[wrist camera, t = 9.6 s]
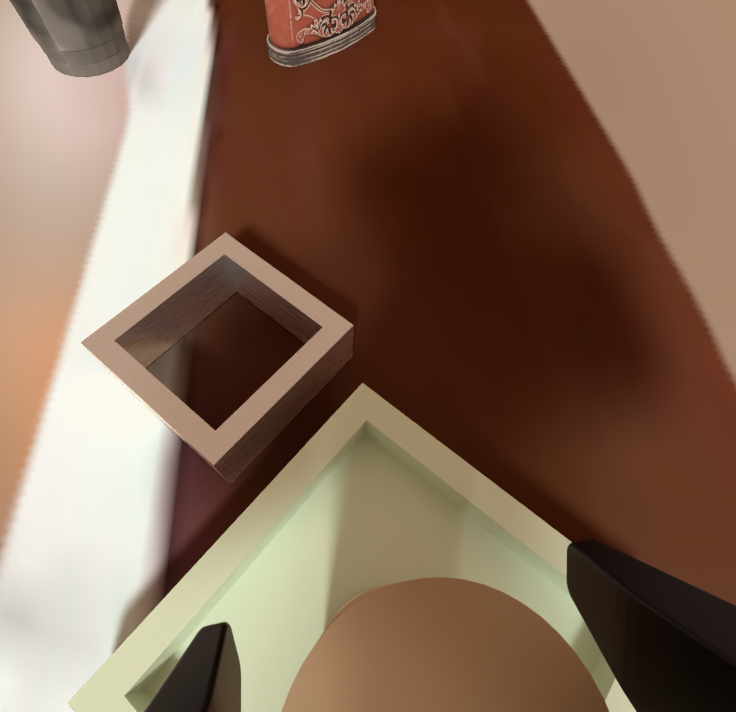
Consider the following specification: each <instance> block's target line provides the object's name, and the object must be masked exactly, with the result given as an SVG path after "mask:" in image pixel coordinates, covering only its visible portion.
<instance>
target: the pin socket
mask: <svg viewBox="0 0 736 712" xmlns="http://www.w3.org/2000/svg"><path fill="white" fill-rule="evenodd" d="M236 292H238V293H239V294H241V295H242V296H243V297H245V298H246V299H247V300H249V301H250V302H251V303H253V304H254V305H255V306H256V307H258V308H259V309H260V310H262V311H263V312H264V313H266V314H267V315H268V316H270V317H271V318H272V319H273V320H275V321H276V322H277V323H279V324H280V325H281V326H283V327H284V328H285V329H287V330H288V331H289V332H290V333H292V334H293V335H294V336H296V337H297V338H298V339H300V340H301V341H302V342H304V343H305V345H304V346H303V347H302V348H301V349H300V350H299V351H298V352H297V353H295V354H294V355H293V356H292V357H291V358H290V359H289V360H288V361H287V362H286V363H285V364H284V365H283V366H282V367H281V368H280V369H279V370H278V371H277V372H276V373H275V374H274V375H273V376H272V377H271V378H270V379H269V380H268V381H266V382H265V383H264V384H263V385H262V386H261V387H260V388H259V389H258V390H257V391H256V392H255V393H254V394H253V395H252V396H251V397H250V398H249V399H248V400H247V401H246V402H245V403H244V404H243V405H242V406H241V407H240V408H239V409H237V410H236V411H235V412H234V413H233V414H232V415H231V416H230V417H229V418H228V419H227V420H226V421H225V422H224V423H223V424H222V425H221V426H220V427H219V428H218V429H217V430H216V431H215V430H214V429H213V428H212V427H210V426H209V425H208V424H207V423H206V422H205V421H204V420H203V419H201V418H200V417H199V416H198V415H197V414H196V413H195V412H194V411H193V410H191V409H190V408H189V407H188V406H187V405H186V404H185V403H184V402H182V401H181V400H180V399H179V398H178V397H177V396H176V395H175V394H174V393H172V392H171V391H170V390H169V389H168V388H167V387H166V386H165V385H163V384H162V383H161V382H160V381H159V380H158V379H157V378H156V377H155V376H153V375H152V374H151V373H150V372H149V371H148V370H147V369H146V367H147V366H149V365H150V364H151V363H152V362H153V361H155V360H156V359H157V358H158V357H159V356H161V355H162V354H163V353H164V352H165V351H167V350H168V349H169V348H170V347H171V346H172V345H174V344H175V343H176V342H177V341H178V340H180V339H181V338H182V337H183V336H184V335H186V334H187V333H188V332H189V331H190V330H192V329H193V328H194V327H195V326H196V325H198V324H199V323H200V322H201V321H202V320H204V319H205V318H206V317H207V316H208V315H210V314H211V313H212V312H213V311H214V310H216V309H217V308H218V307H219V306H220V305H222V304H223V303H224V302H225V301H226V300H228V299H229V298H230V297H231V296H232V295H234V294H235V293H236ZM353 328H354V325H353V324H351V323H350V322H348V321H347V320H346V319H344V318H343V317H342V316H340V315H339V314H337V313H336V312H335V311H333V310H332V309H330V308H329V307H328V306H326V305H325V304H324V303H322V302H321V301H319V300H318V299H317V298H315V297H314V296H313V295H311V294H310V293H308V292H307V291H306V290H304V289H303V288H301V287H300V286H299V285H297V284H296V283H295V282H293V281H292V280H290V279H289V278H288V277H286V276H285V275H284V274H282V273H281V272H279V271H278V270H277V269H275V268H274V267H272V266H271V265H270V264H268V263H267V262H266V261H264V260H263V259H261V258H260V257H259V256H257V255H256V254H255V253H253V252H252V251H250V250H249V249H248V248H246V247H245V246H243V245H242V244H241V243H239V242H238V241H237V240H235V239H234V238H232V237H231V236H230V235H228V234H227V233H224V234H223V235H222V236H220V237H219V238H218V239H216V240H215V241H214V242H212V243H211V244H210V245H209V246H207V247H206V248H205V249H203V250H202V251H201V252H199V253H198V254H197V255H195V256H194V257H193V258H191V259H190V260H189V261H187V262H186V263H185V264H184V265H182V266H181V267H180V268H178V269H177V270H176V271H174V272H173V273H172V274H170V275H169V276H168V277H166V278H165V279H164V280H162V281H161V282H160V283H159V284H157V285H156V286H155V287H153V288H152V289H151V290H149V291H148V292H147V293H145V294H144V295H143V296H141V297H140V298H139V299H137V300H136V301H135V302H134V303H132V304H131V305H130V306H128V307H127V308H126V309H124V310H123V311H122V312H120V313H119V314H118V315H116V316H115V317H114V318H112V319H111V320H110V321H109V322H107V323H106V324H105V325H103V326H102V327H101V328H99V329H98V330H97V331H95V332H94V333H93V334H91V335H90V336H89V337H87V338H86V339H85V340H84V341H82V342H81V343H82V344H83V345H84V346H85V347H86V348H87V350H88V351H89V352H90V353H91V354H92V355H93V356H94V357H95V358H96V359H97V360H98V361H99V362H100V363H101V364H102V365H103V366H104V367H105V368H106V369H107V370H108V371H109V372H110V373H111V374H112V375H113V376H114V377H115V378H116V379H117V380H118V381H119V382H120V383H122V384H123V385H124V386H125V387H126V388H127V389H128V390H129V391H130V392H131V393H132V394H133V395H135V396H136V397H137V398H138V399H139V400H140V401H141V402H142V403H143V404H144V405H145V406H146V407H147V408H149V409H150V410H151V411H152V412H153V413H154V414H155V415H156V416H157V417H158V418H159V419H160V420H161V421H163V422H164V423H165V424H166V425H167V426H168V427H169V428H170V429H171V430H172V431H173V432H174V433H176V434H177V435H178V436H179V437H180V438H181V439H182V440H183V441H184V442H185V443H186V444H187V445H188V446H190V447H191V448H192V449H193V450H194V451H195V452H196V453H197V454H198V455H199V456H200V457H201V458H202V459H204V460H205V461H206V462H207V463H208V464H209V465H210V466H211V467H212V468H213V469H214V470H215V471H217V472H218V473H219V474H220V475H221V476H222V477H223V478H224V479H225V480H226V481H227V482H228V483H229V484H231V483H232V482H233V481H234V480H235V479H236V478H237V477H238V476H239V475H240V474H241V473H242V472H243V471H244V470H245V469H246V468H247V467H248V466H249V465H250V464H251V463H252V461H253V460H254V459H255V458H256V457H257V456H258V455H259V454H260V453H261V452H262V451H263V450H264V449H265V448H266V447H267V446H268V445H269V444H270V443H271V442H272V441H273V440H274V439H275V438H276V437H277V435H278V434H279V433H280V432H281V431H282V430H283V429H284V428H285V427H286V426H287V425H288V424H289V423H290V422H291V421H292V420H293V419H294V418H295V417H296V416H297V415H298V414H299V413H300V412H301V411H302V409H303V408H304V407H305V406H306V405H307V404H308V403H309V402H310V401H311V400H312V399H313V398H314V397H315V396H316V395H317V394H318V393H319V392H320V391H321V390H322V389H323V388H324V387H325V386H326V385H327V383H328V382H329V381H330V380H331V379H332V378H333V377H334V376H335V375H336V374H337V373H338V372H339V371H340V370H341V369H342V368H343V367H344V366H345V365H346V364H347V363H348V362H349V361H350V360H351V359H352V357H353Z"/></svg>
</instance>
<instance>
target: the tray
mask: <svg viewBox="0 0 736 712" xmlns="http://www.w3.org/2000/svg"><path fill="white" fill-rule="evenodd" d="M570 543H572V542H571V541H570V540H568V539H567V538H566V537H564V536H563V535H562V534H560V533H559V532H558V531H556V530H555V529H554V528H552V527H551V526H550V525H549V524H547V523H546V522H545V521H543V520H542V519H541V518H539V517H538V516H537V515H535V514H534V513H533V512H531V511H530V510H529V509H528V508H526V507H525V506H524V505H522V504H521V503H520V502H518V501H517V500H516V499H514V498H513V497H512V496H510V495H509V494H508V493H507V492H505V491H504V490H503V489H501V488H500V487H499V486H497V485H496V484H495V483H493V482H492V481H491V480H489V479H488V478H487V477H486V476H484V475H483V474H482V473H480V472H479V471H478V470H476V469H475V468H474V467H472V466H471V465H470V464H468V463H467V462H466V461H465V460H463V459H462V458H461V457H459V456H458V455H457V454H455V453H454V452H453V451H451V450H450V449H449V448H447V447H446V446H445V445H443V444H442V443H441V442H440V441H438V440H437V439H436V438H434V437H433V436H432V435H430V434H429V433H428V432H426V431H425V430H424V429H422V428H421V427H420V426H419V425H417V424H416V423H415V422H413V421H412V420H411V419H409V418H408V417H407V416H405V415H404V414H403V413H401V412H400V411H399V410H398V409H396V408H395V407H394V406H392V405H391V404H390V403H388V402H387V401H386V400H384V399H383V398H382V397H380V396H379V395H378V394H377V393H375V392H374V391H373V390H371V389H370V388H369V387H367V386H366V385H365V384H363V383H362V384H361V385H360V386H359V387H358V388H357V389H356V390H355V391H354V392H353V394H352V395H351V396H350V397H349V398H348V399H347V400H346V401H345V402H344V403H343V404H342V405H341V407H340V408H339V409H338V410H337V411H336V412H335V413H334V414H333V415H332V416H331V417H330V419H329V420H328V421H327V422H326V423H325V424H324V425H323V426H322V427H321V428H320V429H319V430H318V432H317V433H316V434H315V435H314V436H313V437H312V438H311V439H310V440H309V441H308V442H307V443H306V445H305V446H304V447H303V448H302V449H301V450H300V451H299V452H298V453H297V454H296V455H295V457H294V458H293V459H292V460H291V461H290V462H289V463H288V464H287V465H286V466H285V467H284V468H283V470H282V471H281V472H280V473H279V474H278V475H277V476H276V477H275V478H274V479H273V480H272V481H271V483H270V484H269V485H268V486H267V487H266V488H265V489H264V490H263V491H262V492H261V493H260V495H259V496H258V497H257V498H256V499H255V500H254V501H253V502H252V503H251V504H250V505H249V506H248V508H247V509H246V510H245V511H244V512H243V513H242V514H241V515H240V516H239V517H238V518H237V519H236V521H235V522H234V523H233V524H232V525H231V526H230V527H229V528H228V529H227V530H226V531H225V533H224V534H223V535H222V536H221V537H220V538H219V539H218V540H217V541H216V542H215V543H214V544H213V546H212V547H211V548H210V549H209V550H208V551H207V552H206V553H205V554H204V555H203V556H202V557H201V559H200V560H199V561H198V562H197V563H196V564H195V565H194V566H193V567H192V568H191V569H190V571H189V572H188V573H187V574H186V575H185V576H184V577H183V578H182V579H181V580H180V581H179V582H178V584H177V585H176V586H175V587H174V588H173V589H172V590H171V591H170V592H169V593H168V594H167V595H166V597H165V598H164V599H163V600H162V601H161V602H160V603H159V604H158V605H157V606H156V607H155V609H154V610H153V611H152V612H151V613H150V614H149V615H148V616H147V617H146V618H145V619H144V620H143V622H142V623H141V624H140V625H139V626H138V627H137V628H136V629H135V630H134V631H133V632H132V633H131V635H130V636H129V637H128V638H127V639H126V640H125V641H124V642H123V643H122V644H121V645H120V647H119V648H118V649H117V650H116V651H115V652H114V653H113V654H112V655H111V656H110V657H109V658H108V660H107V661H106V662H105V663H104V664H103V665H102V666H101V667H100V668H99V669H98V670H97V671H96V673H95V674H94V675H93V676H92V677H91V678H90V679H89V680H88V681H87V682H86V683H85V684H84V686H83V687H82V688H81V689H80V690H79V691H78V692H77V693H76V694H75V695H74V696H73V698H72V699H71V700H70V701H69V702H68V704H69V706H70V707H71V708H72V710H73V711H74V712H144V710H145V709H146V707H147V706H148V704H149V703H150V701H151V700H152V698H153V697H154V696H155V694H156V693H157V691H158V690H159V688H160V687H161V685H162V684H163V682H164V681H165V679H166V678H167V676H168V675H169V674H170V672H171V671H172V669H173V668H174V666H175V665H176V663H177V662H178V660H179V659H180V657H181V656H182V654H183V653H184V652H185V650H186V649H187V647H188V646H189V644H190V643H191V641H192V640H193V638H194V637H195V635H196V634H197V632H198V631H199V630H200V629H201V628H202V627H204V626H208V625H212V624H216V623H221V622H227V623H229V624H230V626H231V629H232V633H233V637H234V641H235V645H236V648H237V652H238V656H239V660H240V667H241V712H281V711H282V709H283V706H284V703H285V701H286V698H287V695H288V693H289V690H290V687H291V685H292V683H293V681H294V679H295V677H296V675H297V673H298V671H299V669H300V667H301V665H302V664H303V662H304V661H305V659H306V658H307V656H308V654H309V653H310V651H311V650H312V648H313V647H314V645H315V644H316V642H317V641H318V639H319V638H320V637H321V635H322V634H323V632H324V631H325V629H326V628H327V626H328V625H329V623H330V622H331V620H332V619H333V617H334V616H335V615H336V613H337V612H338V611H339V609H340V608H341V607H342V606H343V605H344V604H345V603H346V602H347V601H348V600H349V599H351V598H352V597H354V596H355V595H357V594H358V593H360V592H362V591H364V590H367V589H370V588H374V587H379V586H384V585H389V584H394V583H399V582H404V581H409V580H415V579H420V578H435V577H447V578H456V579H465V580H468V581H472V582H476V583H480V584H484V585H487V586H489V587H492V588H494V589H496V590H499V591H501V592H504V593H506V594H507V595H509V596H511V597H513V598H515V599H516V600H518V601H520V602H522V603H523V604H525V605H526V606H527V607H529V608H530V609H532V610H533V611H534V612H536V613H537V614H538V615H540V616H541V617H542V618H543V619H544V620H545V621H546V622H548V623H549V624H550V625H551V626H552V627H553V628H554V629H555V630H556V631H557V632H558V633H559V634H560V635H561V636H562V637H563V638H564V640H565V641H566V642H567V643H568V644H569V645H570V647H571V648H572V649H573V650H574V651H575V652H576V654H577V655H578V657H579V658H580V660H581V661H582V663H583V664H584V665H585V667H586V668H587V670H588V671H589V673H590V674H591V676H592V678H593V680H594V681H595V683H596V685H597V687H598V689H599V691H600V692H601V694H602V696H603V698H604V700H605V703H606V705H607V707H608V710H609V712H636V710H635V709H634V707H633V706H632V704H631V703H630V701H629V700H628V698H627V696H626V695H625V693H624V692H623V690H622V689H621V687H620V685H619V683H618V682H617V680H616V678H615V677H614V675H613V673H612V671H611V669H610V668H609V666H608V664H607V662H606V660H605V658H604V657H603V655H602V653H601V651H600V649H599V647H598V646H597V644H596V642H595V640H594V638H593V636H592V635H591V633H590V631H589V629H588V627H587V626H586V624H585V622H584V620H583V618H582V616H581V615H580V613H579V611H578V609H577V607H576V605H575V604H574V602H573V600H572V598H571V596H570V594H569V591H568V588H567V581H566V575H567V547H568V545H569V544H570Z"/></svg>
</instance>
